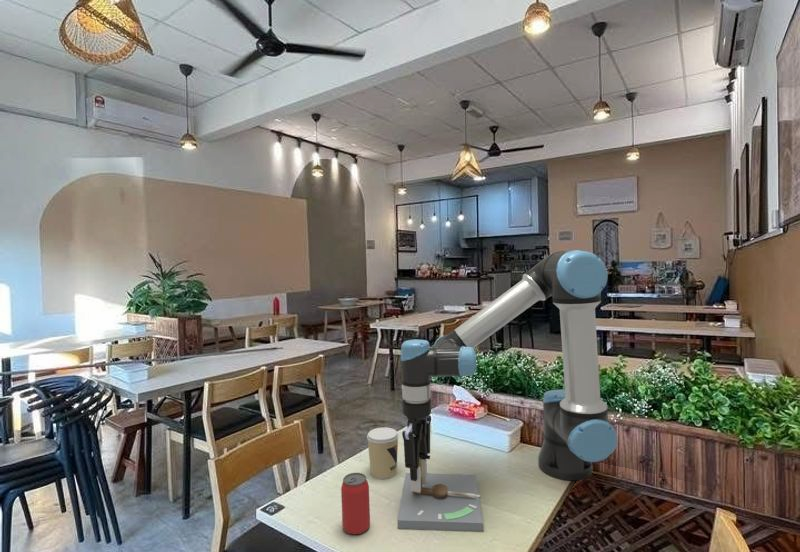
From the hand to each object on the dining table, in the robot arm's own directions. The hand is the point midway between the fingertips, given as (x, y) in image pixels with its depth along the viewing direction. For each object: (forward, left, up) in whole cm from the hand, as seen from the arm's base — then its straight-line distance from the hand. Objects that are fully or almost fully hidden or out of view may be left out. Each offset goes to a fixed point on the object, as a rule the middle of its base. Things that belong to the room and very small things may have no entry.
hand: (418, 487), depth 112 cm
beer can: (+14, +12, -4) cm, 19 cm away
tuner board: (-6, +1, -3) cm, 7 cm away
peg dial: (-6, +1, -1) cm, 6 cm away
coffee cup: (+11, -14, -4) cm, 18 cm away
